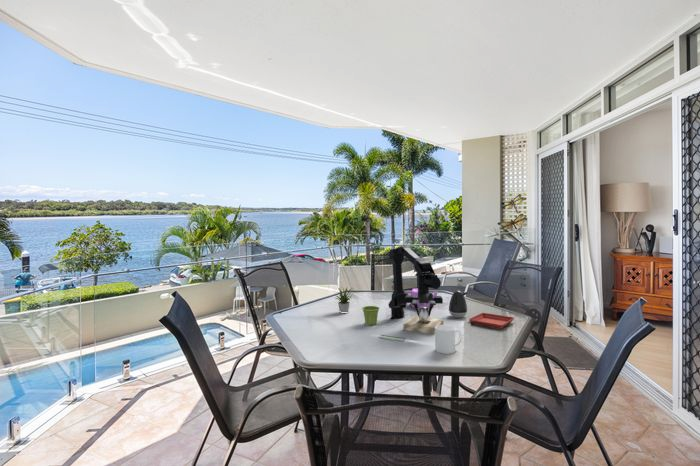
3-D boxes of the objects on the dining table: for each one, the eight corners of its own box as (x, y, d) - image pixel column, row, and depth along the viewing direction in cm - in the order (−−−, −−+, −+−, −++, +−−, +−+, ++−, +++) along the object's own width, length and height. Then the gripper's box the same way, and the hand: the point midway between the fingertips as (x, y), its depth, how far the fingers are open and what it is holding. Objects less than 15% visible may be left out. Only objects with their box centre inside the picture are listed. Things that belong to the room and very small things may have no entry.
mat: (379, 337, 180) (379, 336, 180) (389, 331, 190) (388, 329, 190) (402, 341, 174) (402, 340, 174) (411, 334, 185) (411, 333, 185)
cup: (431, 348, 164) (431, 325, 164) (456, 345, 167) (456, 323, 167) (441, 355, 156) (441, 331, 156) (466, 352, 159) (466, 328, 159)
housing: (403, 331, 189) (403, 323, 189) (414, 323, 203) (414, 316, 203) (434, 336, 181) (434, 328, 181) (443, 327, 195) (443, 319, 195)
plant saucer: (468, 325, 200) (468, 318, 200) (482, 317, 213) (482, 312, 213) (502, 331, 188) (502, 325, 188) (515, 323, 201) (515, 317, 201)
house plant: (362, 311, 231) (361, 285, 230) (350, 316, 219) (349, 288, 219) (342, 308, 239) (342, 283, 238) (330, 313, 227) (329, 286, 226)
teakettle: (419, 301, 254) (419, 283, 254) (439, 306, 241) (439, 287, 241) (401, 305, 244) (401, 287, 243) (422, 310, 231) (421, 290, 230)
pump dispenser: (468, 319, 209) (468, 292, 208) (449, 318, 211) (449, 292, 210) (466, 314, 219) (466, 289, 218) (448, 314, 221) (448, 288, 220)
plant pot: (383, 323, 204) (382, 307, 204) (372, 327, 198) (371, 311, 197) (369, 320, 211) (369, 305, 211) (358, 324, 204) (358, 308, 204)
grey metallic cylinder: (418, 325, 190) (418, 308, 189) (418, 322, 195) (418, 306, 194) (428, 325, 189) (428, 308, 189) (428, 322, 194) (428, 306, 193)
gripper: (404, 288, 185) (405, 320, 185) (443, 289, 182) (443, 321, 182) (404, 284, 195) (405, 314, 196) (441, 284, 193) (441, 315, 193)
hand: (423, 316), depth 192 cm, fingers closed on grey metallic cylinder, 5 cm apart
